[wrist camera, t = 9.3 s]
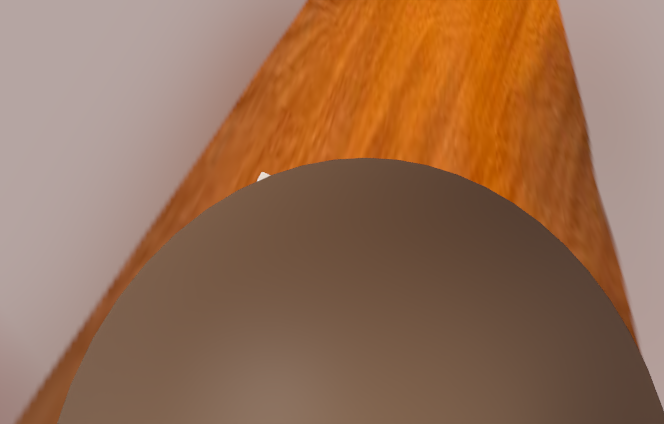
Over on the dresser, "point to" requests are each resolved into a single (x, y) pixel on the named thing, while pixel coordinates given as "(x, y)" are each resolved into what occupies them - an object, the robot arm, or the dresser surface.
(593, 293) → the peg
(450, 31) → the dresser surface
